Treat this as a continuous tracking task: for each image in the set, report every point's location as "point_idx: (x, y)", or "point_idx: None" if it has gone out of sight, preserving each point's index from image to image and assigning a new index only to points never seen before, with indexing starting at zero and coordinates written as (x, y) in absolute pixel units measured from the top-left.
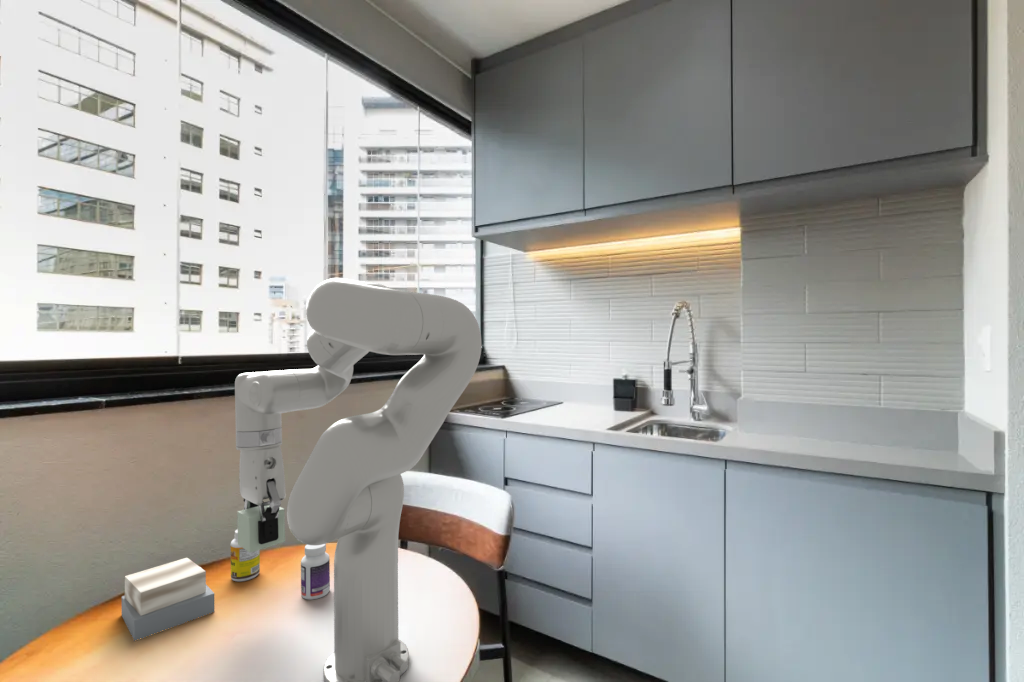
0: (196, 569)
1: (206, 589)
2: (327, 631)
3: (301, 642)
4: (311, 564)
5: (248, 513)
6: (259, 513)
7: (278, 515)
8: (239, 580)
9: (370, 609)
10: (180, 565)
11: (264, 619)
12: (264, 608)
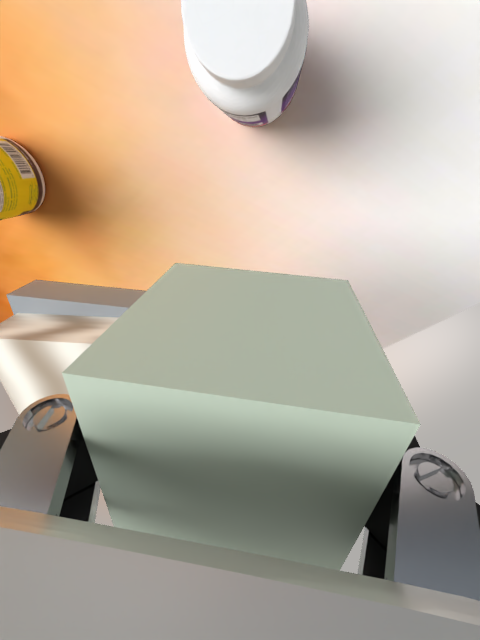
0: (73, 351)
1: (110, 311)
2: (457, 173)
3: (428, 237)
4: (286, 90)
5: (228, 543)
6: (359, 570)
7: (468, 479)
8: (41, 203)
9: None
10: (25, 361)
11: (268, 244)
12: (221, 221)
